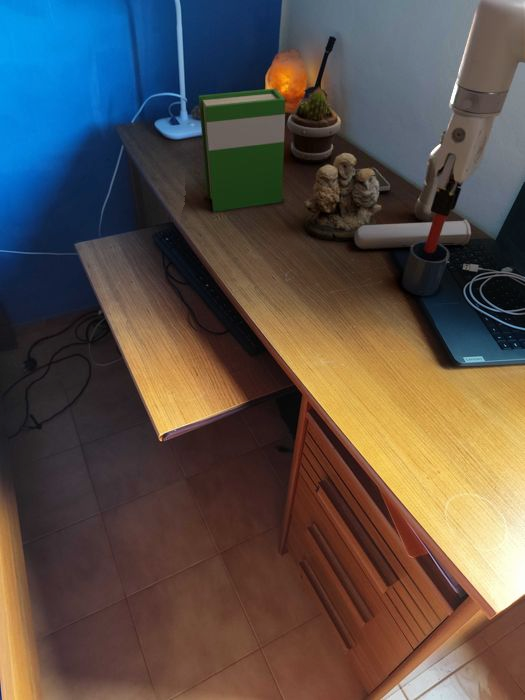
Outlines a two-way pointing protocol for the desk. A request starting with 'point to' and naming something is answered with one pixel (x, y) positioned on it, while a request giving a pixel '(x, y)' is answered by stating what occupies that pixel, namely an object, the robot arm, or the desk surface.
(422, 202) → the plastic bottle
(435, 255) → the tumbler
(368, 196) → the owl figurine
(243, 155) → the hardback book
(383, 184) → the external hard drive
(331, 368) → the desk surface
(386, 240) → the tube
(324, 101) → the flowerpot
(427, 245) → the red cylindrical rod
